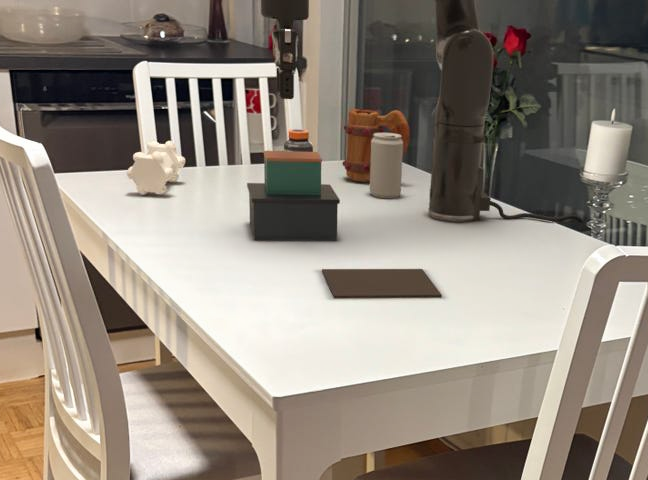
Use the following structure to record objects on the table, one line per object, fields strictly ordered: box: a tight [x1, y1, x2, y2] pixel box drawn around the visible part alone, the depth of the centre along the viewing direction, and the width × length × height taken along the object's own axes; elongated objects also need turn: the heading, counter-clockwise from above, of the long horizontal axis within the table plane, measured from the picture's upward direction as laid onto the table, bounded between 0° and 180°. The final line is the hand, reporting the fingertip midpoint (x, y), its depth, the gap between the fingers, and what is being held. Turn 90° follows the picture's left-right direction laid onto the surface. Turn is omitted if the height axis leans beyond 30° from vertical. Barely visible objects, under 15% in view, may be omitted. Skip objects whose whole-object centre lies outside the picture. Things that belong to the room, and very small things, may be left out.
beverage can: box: [369, 132, 404, 199], centre depth 197 cm, size 6×6×12 cm
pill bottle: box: [283, 128, 314, 152], centre depth 198 cm, size 6×6×11 cm
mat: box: [321, 268, 443, 299], centre depth 147 cm, size 16×13×1 cm
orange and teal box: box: [262, 150, 323, 195], centre depth 165 cm, size 9×6×6 cm
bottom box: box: [246, 182, 341, 241], centre depth 168 cm, size 15×12×7 cm
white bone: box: [126, 140, 186, 196], centre depth 190 cm, size 15×9×8 cm, turn 1°
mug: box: [342, 108, 411, 183], centre depth 207 cm, size 15×8×15 cm, turn 72°
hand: (284, 95), depth 160 cm, fingers open, 8 cm apart
